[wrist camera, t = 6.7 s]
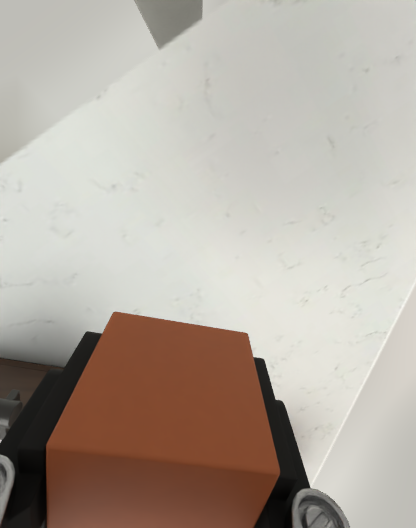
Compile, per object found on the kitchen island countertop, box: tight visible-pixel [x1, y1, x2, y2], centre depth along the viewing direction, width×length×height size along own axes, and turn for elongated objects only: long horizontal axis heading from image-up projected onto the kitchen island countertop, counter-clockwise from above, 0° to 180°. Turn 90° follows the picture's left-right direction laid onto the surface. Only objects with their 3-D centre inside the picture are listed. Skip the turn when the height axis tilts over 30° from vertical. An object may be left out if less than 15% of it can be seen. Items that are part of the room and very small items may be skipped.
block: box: [46, 312, 280, 528], centre depth 8 cm, size 4×4×4 cm
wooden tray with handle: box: [0, 358, 64, 440], centre depth 27 cm, size 15×12×9 cm
